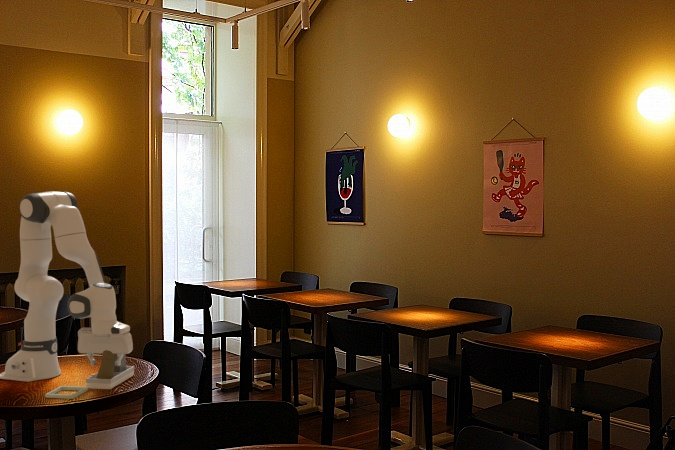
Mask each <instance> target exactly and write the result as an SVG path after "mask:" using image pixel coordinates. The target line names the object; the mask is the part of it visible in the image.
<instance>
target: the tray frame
mask: <svg viewBox="0 0 675 450" xmlns="http://www.w3.org/2000/svg"><path fill="white" fill-rule="evenodd" d="M61 391H75V393H73V394H63V393H61V394H60V393H58V392H61ZM87 391H89V388H88V387H87V386H72V385H71V386H70V385H61V386H58V387H56V388H55V389H53V390H51V391H48V392H47V393H45V394H44V395H45V398H47V399H49V398H50V399H68V400H69V399H70V400H73V399H75V398H77V397H79V396H80V395H82V394H83V393H84V394H85V393H86V392H87Z"/></svg>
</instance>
